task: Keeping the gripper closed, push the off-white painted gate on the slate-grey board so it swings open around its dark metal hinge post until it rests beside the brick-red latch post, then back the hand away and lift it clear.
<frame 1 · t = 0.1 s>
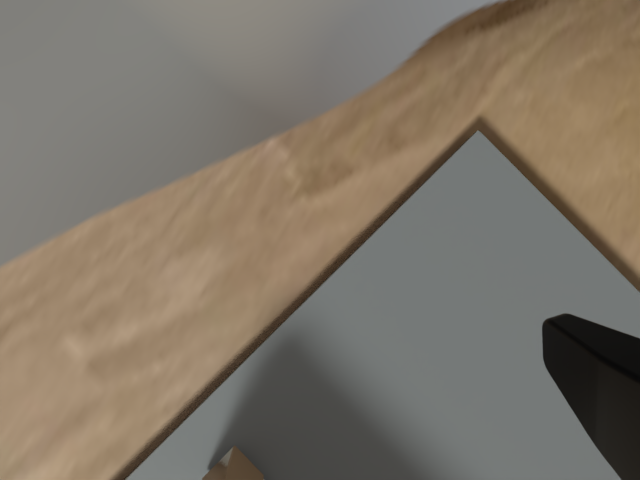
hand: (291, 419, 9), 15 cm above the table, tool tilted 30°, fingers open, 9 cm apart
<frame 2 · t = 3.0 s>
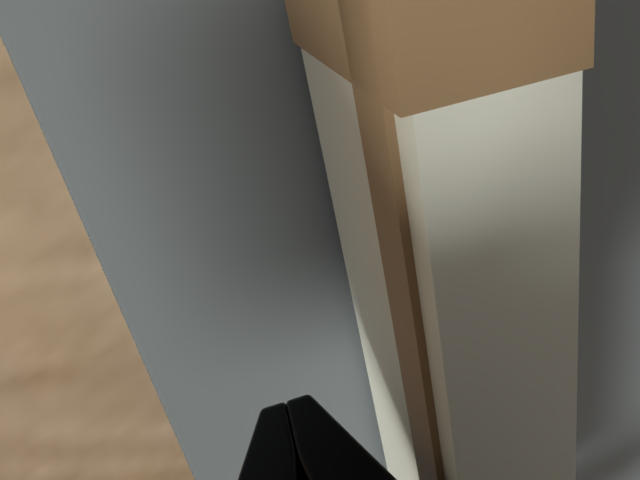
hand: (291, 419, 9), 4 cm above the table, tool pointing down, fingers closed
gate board: (615, 241, 14), on the table
gate: (442, 398, 10), point 4 cm above the table, hinge at 0.0°, touching gripper
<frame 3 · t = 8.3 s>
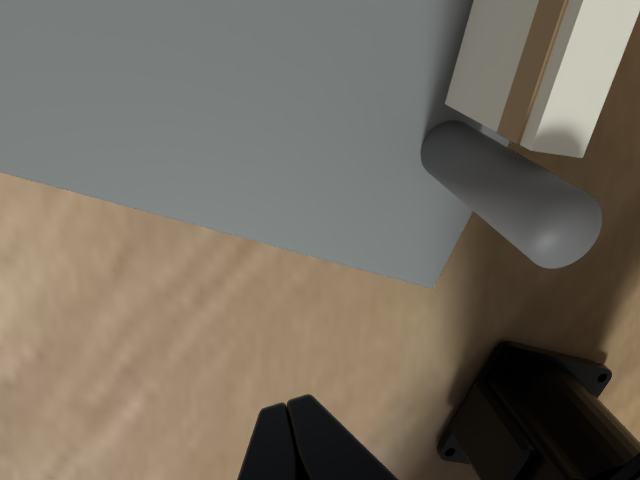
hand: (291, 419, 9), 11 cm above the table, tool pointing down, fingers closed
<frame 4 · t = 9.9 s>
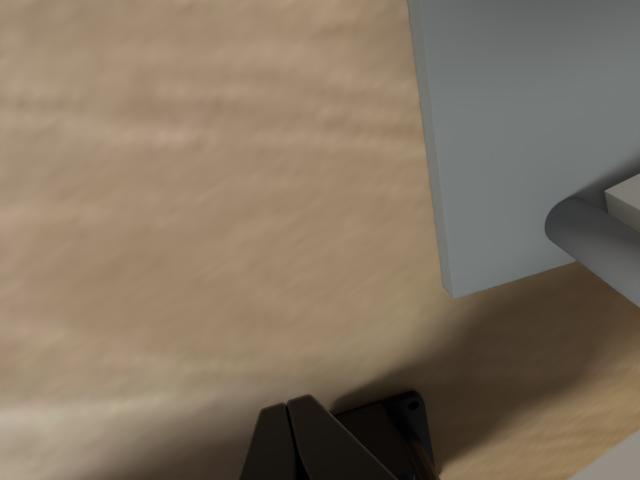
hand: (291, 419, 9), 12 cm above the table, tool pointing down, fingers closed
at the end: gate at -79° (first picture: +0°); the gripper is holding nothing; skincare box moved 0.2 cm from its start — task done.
